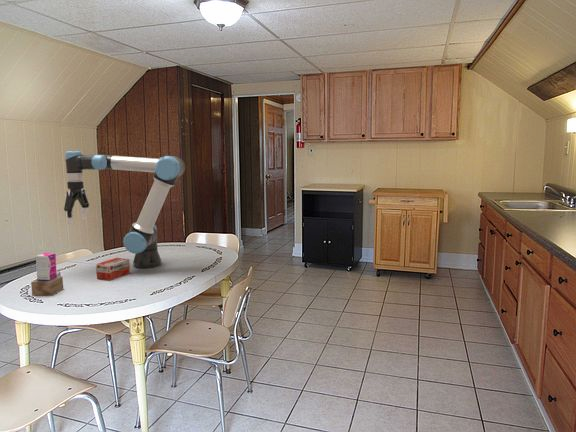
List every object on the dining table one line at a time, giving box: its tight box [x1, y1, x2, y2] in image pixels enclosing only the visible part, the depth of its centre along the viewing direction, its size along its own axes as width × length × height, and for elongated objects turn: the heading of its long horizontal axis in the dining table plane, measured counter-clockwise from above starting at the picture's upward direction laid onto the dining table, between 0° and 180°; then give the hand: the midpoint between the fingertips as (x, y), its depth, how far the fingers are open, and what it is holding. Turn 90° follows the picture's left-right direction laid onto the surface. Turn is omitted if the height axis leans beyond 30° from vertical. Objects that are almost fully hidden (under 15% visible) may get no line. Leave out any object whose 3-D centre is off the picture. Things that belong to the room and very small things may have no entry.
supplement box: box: [35, 252, 57, 281], centre depth 194 cm, size 6×6×12 cm
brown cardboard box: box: [30, 276, 64, 296], centre depth 196 cm, size 9×9×6 cm
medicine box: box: [95, 257, 131, 281], centre depth 221 cm, size 15×8×8 cm, turn 159°
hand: (78, 221), depth 227 cm, fingers open, 13 cm apart
